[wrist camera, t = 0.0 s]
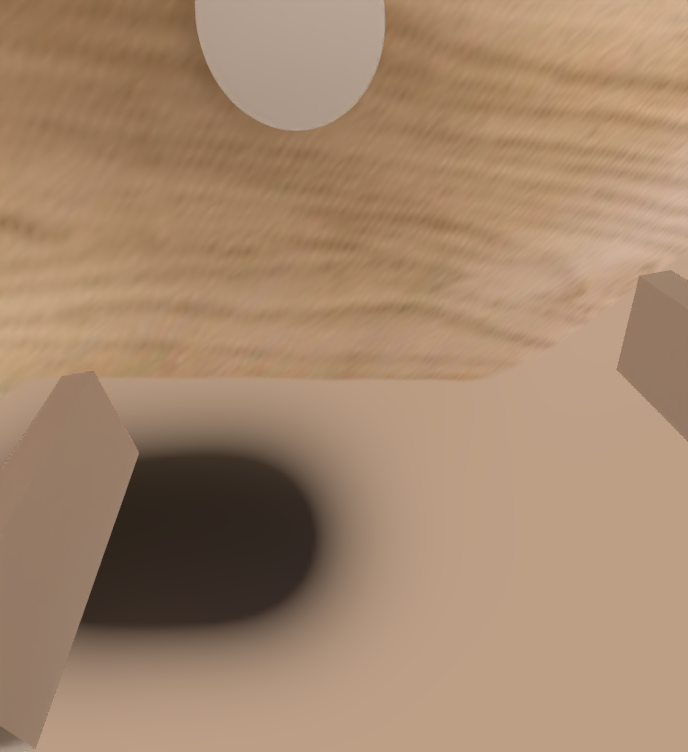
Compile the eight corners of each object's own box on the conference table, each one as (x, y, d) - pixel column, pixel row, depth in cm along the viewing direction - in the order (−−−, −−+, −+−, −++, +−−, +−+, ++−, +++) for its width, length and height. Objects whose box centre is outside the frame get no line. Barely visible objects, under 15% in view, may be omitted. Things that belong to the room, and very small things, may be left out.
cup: (370, -24, 29) (413, -53, 20) (332, 119, 34) (351, 153, 24) (237, -82, 27) (211, -147, 18) (214, 78, 32) (183, 98, 22)
